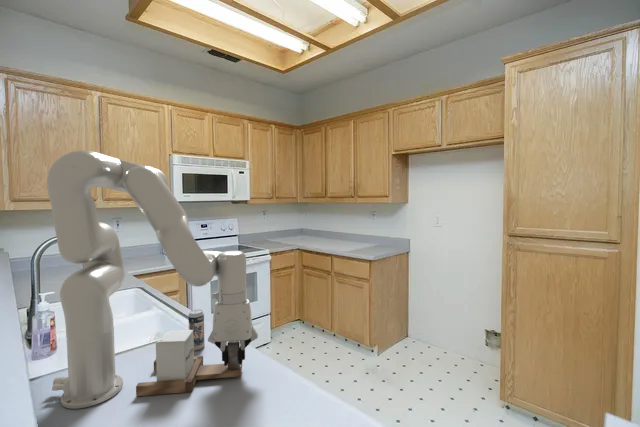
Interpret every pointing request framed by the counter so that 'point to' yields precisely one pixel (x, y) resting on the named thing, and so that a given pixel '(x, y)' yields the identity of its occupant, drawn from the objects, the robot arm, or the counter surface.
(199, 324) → the beer can
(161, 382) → the wooden cross board
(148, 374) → the counter surface
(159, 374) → the supplement box
